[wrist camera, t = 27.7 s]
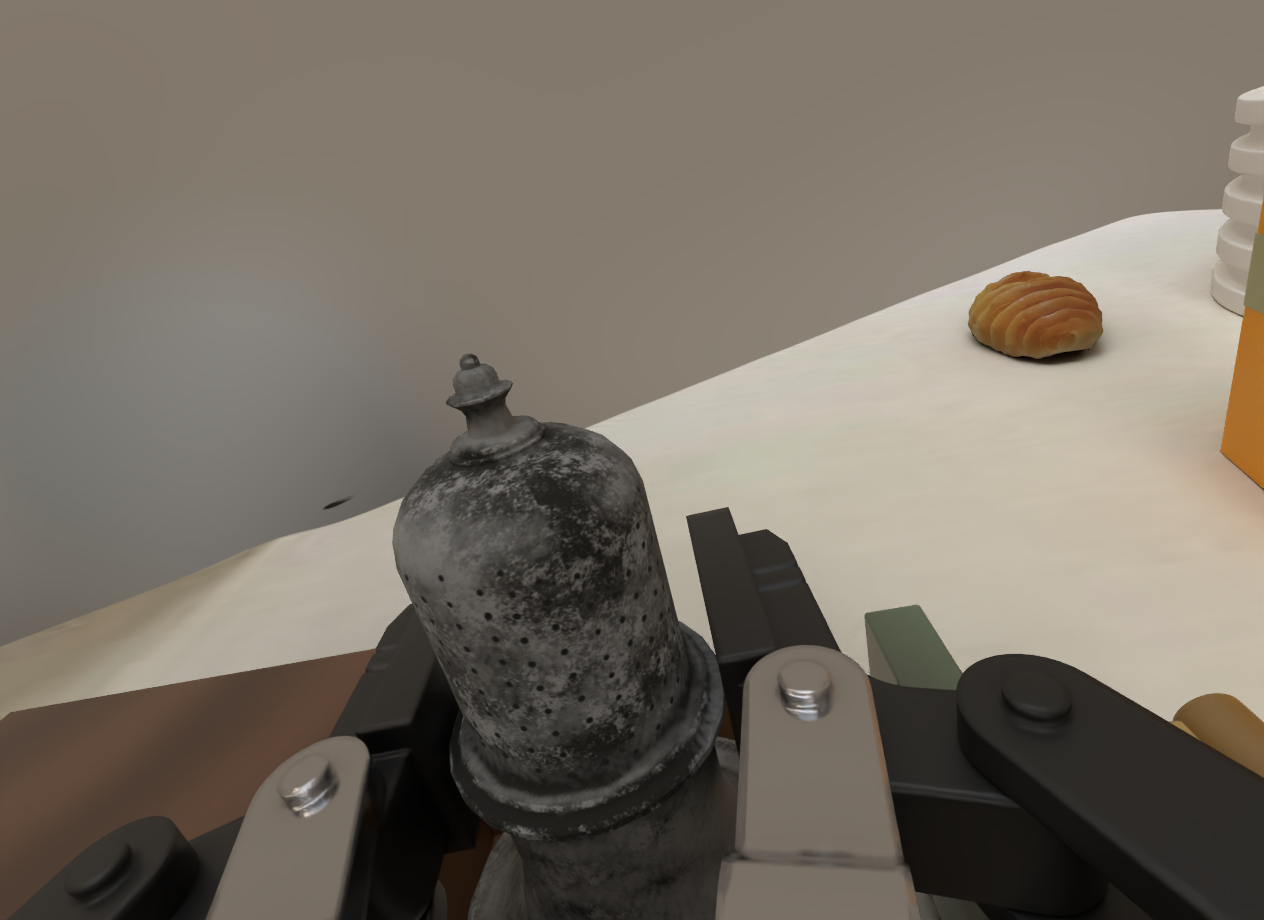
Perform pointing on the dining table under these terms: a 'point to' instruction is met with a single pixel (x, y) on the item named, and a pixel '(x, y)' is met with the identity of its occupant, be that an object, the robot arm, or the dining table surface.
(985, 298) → the pastry
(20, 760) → the cabinet
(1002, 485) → the dining table surface
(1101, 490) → the dining table surface
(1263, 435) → the orange juice
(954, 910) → the drawer
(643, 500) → the salt shaker
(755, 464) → the dining table surface
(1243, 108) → the plate stack
